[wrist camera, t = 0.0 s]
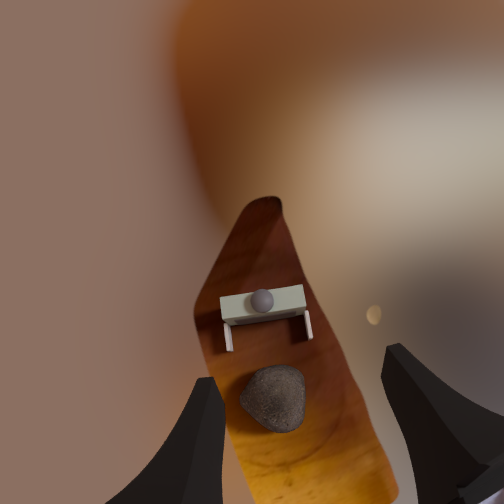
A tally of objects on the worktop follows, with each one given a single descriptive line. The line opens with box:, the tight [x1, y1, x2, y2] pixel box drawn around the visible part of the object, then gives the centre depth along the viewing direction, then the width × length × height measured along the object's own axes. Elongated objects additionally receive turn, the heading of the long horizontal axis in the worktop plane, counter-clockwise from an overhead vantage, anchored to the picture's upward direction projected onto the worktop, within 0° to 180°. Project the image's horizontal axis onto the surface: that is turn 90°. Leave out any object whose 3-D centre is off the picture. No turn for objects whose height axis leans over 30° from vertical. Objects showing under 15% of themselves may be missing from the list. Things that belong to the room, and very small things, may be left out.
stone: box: [240, 365, 306, 433], centre depth 38 cm, size 10×8×10 cm
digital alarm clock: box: [220, 285, 313, 352], centre depth 41 cm, size 7×12×7 cm, turn 98°
